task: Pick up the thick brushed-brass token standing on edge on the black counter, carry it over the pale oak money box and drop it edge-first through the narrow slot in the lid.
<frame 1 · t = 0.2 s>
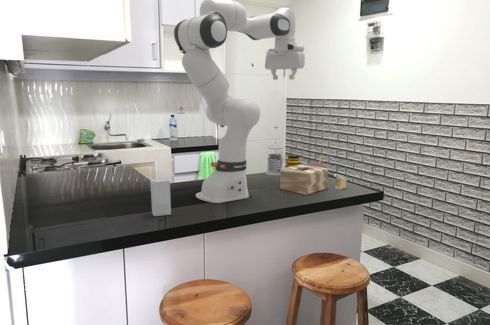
hand: (283, 79, 166), 48 cm above the countertop, fingers open, 8 cm apart
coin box: (303, 188, 165), on the countertop
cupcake: (316, 177, 188), on the countertop
skincare box: (161, 214, 127), on the countertop
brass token: (340, 188, 166), on the countertop
french press: (275, 173, 194), on the countertop
condiment: (291, 179, 183), on the countertop
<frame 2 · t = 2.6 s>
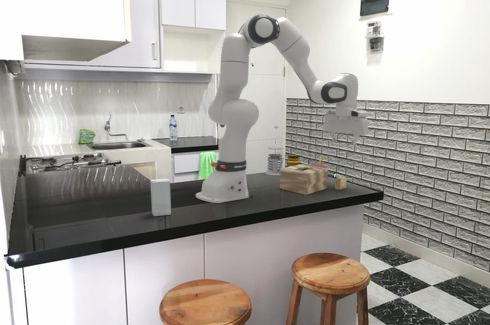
hand: (343, 143, 162), 20 cm above the countertop, fingers open, 8 cm apart
nothing on the countertop moved.
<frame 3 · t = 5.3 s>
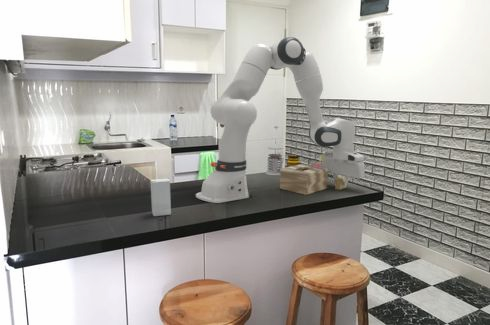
hand: (340, 184, 166), 2 cm above the countertop, fingers closed on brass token, 2 cm apart
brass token: (340, 188, 166), on the countertop, touching gripper
everything else where it was.
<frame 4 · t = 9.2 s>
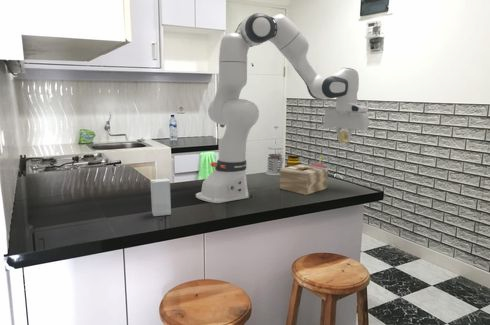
hand: (344, 138, 162), 22 cm above the countertop, fingers closed on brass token, 2 cm apart
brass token: (343, 142, 162), point 21 cm above the countertop, touching gripper
everything else where it was.
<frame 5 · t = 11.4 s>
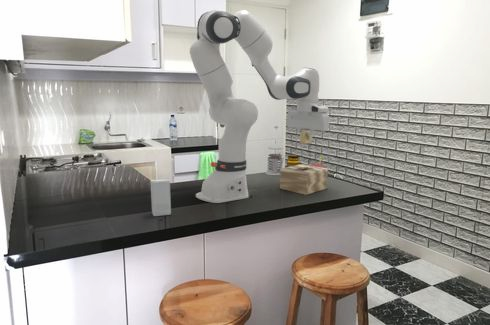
hand: (306, 139, 161), 22 cm above the countertop, fingers closed on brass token, 2 cm apart
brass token: (305, 143, 161), point 20 cm above the countertop, touching gripper
everything else where it was.
when the fingers open (12 cm above the countertop, at t = 13.3 s): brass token drops 10 cm, resting in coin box.
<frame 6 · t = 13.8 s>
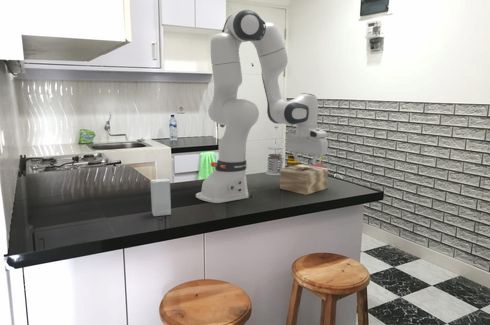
hand: (304, 162, 162), 12 cm above the countertop, fingers open, 7 cm apart
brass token: (303, 188, 165), resting in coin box
everything else where it was.
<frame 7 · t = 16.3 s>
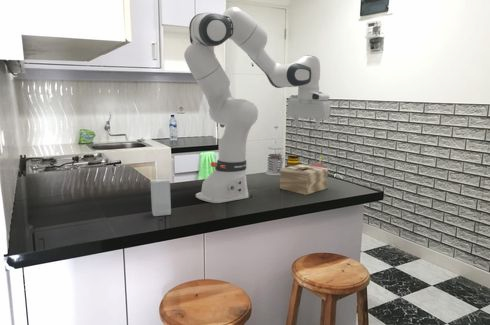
hand: (306, 127, 160), 27 cm above the countertop, fingers open, 8 cm apart
nothing on the countertop moved.
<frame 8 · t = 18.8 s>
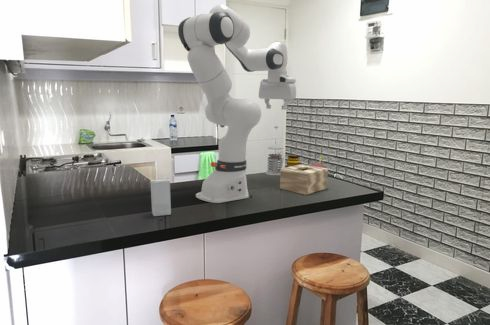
hand: (276, 109, 174), 34 cm above the countertop, fingers open, 8 cm apart
nothing on the countertop moved.
at the end: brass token inside the target area on the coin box (0.0 cm from its centre), point 0.0 cm above the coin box's base; the gripper is holding nothing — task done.
